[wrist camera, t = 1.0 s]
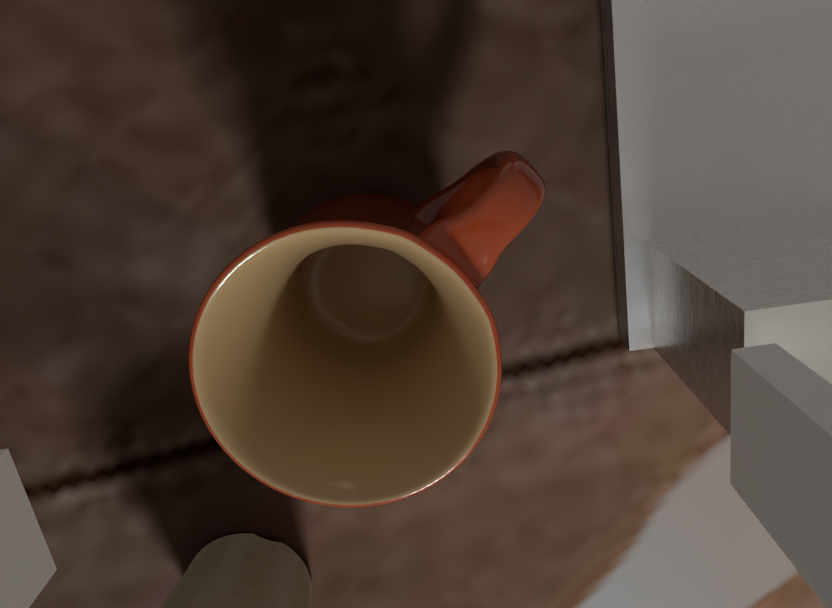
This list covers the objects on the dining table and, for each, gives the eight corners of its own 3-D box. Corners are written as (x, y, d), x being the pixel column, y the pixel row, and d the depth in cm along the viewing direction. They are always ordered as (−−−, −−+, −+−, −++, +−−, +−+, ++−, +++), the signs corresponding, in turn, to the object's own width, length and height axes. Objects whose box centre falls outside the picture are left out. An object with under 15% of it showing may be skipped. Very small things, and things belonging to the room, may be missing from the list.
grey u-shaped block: (619, 344, 29) (709, 464, 20) (579, -360, 21) (699, -685, 12) (851, 313, 29) (1050, 420, 20) (900, -422, 21) (1273, -809, 12)
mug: (374, 403, 30) (354, 558, 20) (225, 274, 28) (123, 378, 18) (573, 218, 27) (659, 295, 18) (423, 60, 25) (426, 48, 16)
